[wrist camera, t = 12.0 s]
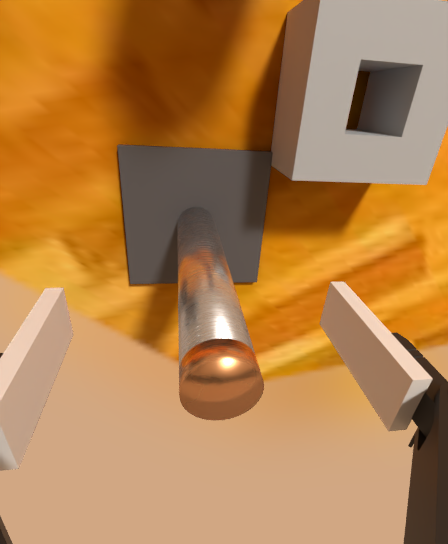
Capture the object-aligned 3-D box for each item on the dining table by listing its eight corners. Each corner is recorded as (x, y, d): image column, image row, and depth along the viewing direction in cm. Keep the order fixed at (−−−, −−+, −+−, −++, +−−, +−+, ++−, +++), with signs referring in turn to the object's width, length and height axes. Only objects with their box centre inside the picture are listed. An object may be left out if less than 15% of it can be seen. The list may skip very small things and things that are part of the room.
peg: (175, 208, 27) (173, 367, 11) (212, 204, 27) (263, 354, 11) (180, 243, 28) (185, 425, 13) (215, 239, 29) (263, 413, 13)
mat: (131, 280, 30) (130, 283, 30) (118, 144, 24) (117, 145, 24) (255, 279, 32) (256, 282, 31) (270, 151, 26) (272, 152, 26)
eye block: (269, 164, 27) (292, 180, 21) (287, 12, 22) (322, -15, 17) (379, 168, 28) (426, 184, 23) (419, 26, 23) (489, 6, 18)
